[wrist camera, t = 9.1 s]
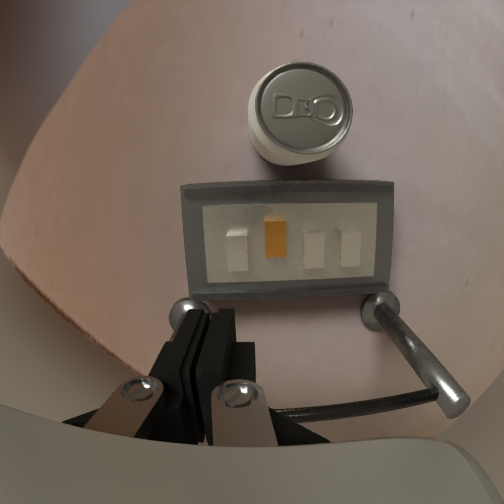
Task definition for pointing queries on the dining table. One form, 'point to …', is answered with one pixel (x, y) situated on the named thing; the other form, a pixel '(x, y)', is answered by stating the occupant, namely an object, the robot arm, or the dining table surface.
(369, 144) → the dining table surface
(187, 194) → the breaker panel
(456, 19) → the dining table surface
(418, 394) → the cord stand
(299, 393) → the dining table surface
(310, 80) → the can
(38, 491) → the robot arm
